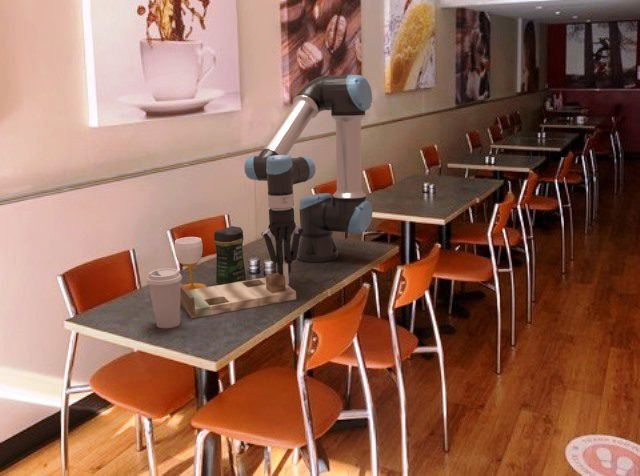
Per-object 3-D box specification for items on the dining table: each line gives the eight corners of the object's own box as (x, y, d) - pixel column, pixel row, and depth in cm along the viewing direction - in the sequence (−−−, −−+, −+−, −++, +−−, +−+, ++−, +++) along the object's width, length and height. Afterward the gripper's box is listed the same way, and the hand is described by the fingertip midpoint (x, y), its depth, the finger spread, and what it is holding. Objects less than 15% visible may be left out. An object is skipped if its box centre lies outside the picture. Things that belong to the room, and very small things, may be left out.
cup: (172, 289, 219) (167, 241, 215) (195, 282, 226) (191, 235, 222) (189, 294, 213) (185, 245, 209) (212, 287, 220) (208, 239, 216)
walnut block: (280, 286, 210) (279, 272, 209) (285, 290, 206) (284, 276, 205) (266, 288, 208) (265, 274, 207) (271, 293, 204) (270, 278, 203)
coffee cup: (153, 319, 193) (148, 268, 190) (187, 316, 194) (183, 266, 190) (148, 331, 184) (142, 278, 180) (184, 329, 185) (179, 276, 181)
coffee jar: (230, 288, 218) (227, 232, 213) (212, 284, 222) (208, 229, 218) (250, 280, 225) (247, 225, 221) (232, 277, 230) (229, 223, 225)
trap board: (274, 283, 222) (273, 265, 220) (296, 299, 206) (295, 280, 204) (177, 300, 209) (175, 281, 207) (192, 318, 193) (190, 298, 191)
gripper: (265, 212, 196) (269, 290, 202) (306, 207, 201) (309, 283, 207) (256, 208, 203) (260, 283, 208) (296, 203, 208) (299, 277, 214)
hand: (284, 283), depth 208 cm, fingers closed
